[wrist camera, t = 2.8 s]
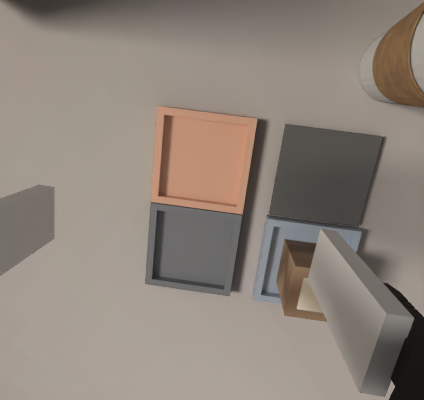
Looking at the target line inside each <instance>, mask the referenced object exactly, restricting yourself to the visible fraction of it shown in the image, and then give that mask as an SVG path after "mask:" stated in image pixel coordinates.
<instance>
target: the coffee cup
mask: <svg viewBox="0 0 424 400" xmlns="http://www.w3.org/2000/svg"><path fill="white" fill-rule="evenodd" d="M359 80H360V83H361V86H362V88H363V89H364V91H365V92H366V93H367V94H368V95H369V96H370V97H372V98H373V99H375V100H377V101H380V102H386V103H397V104H404V105H410V106H417V107H424V2H423V3H422V4H421V5H420V6H418V7H417V8H416V9H414V10H413V11H412V12H411V13H409V14H408V15H407V16H406V17H404V18H403V19H402V20H400V21H399V22H398V23H397V24H395V25H394V26H393V27H392V28H391V29H390V30H388V31H387V32H385V33H384V34H383V35H381V36H380V37H378V38H377V39H376V40H374V41H373V42H372V43H371V44H370V45H369V47H368V48H367V49H366V51H365V52H364V54H363V56H362V58H361V62H360V65H359Z"/></svg>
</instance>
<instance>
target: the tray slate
mask: <svg viewBox="0 0 424 400" xmlns="http://www.w3.org/2000/svg"><path fill="white" fill-rule="evenodd" d="M320 228H321V229H327V230H334V231H337V232H338V233H339V234H340V236H341V237H342V238H343V239H344V240H345V241H346V242H347V243H348V245H349V246H350V247H351V248H352V249H353V250H354V251H355V252H357V249H358V245H359V241H360V238H361V234H362V231H361V230H360V229H359V228H357V227H350V226H343V225H335V224H328V223H321V222H313V221H306V220H299V219H291V218H284V217H277V216H269V215H267V217H266V223H265V228H264V234H263V239H262V245H261V250H260V256H259V261H258V267H257V273H256V278H255V284H254V289H253V300H259V301H266V302H272V303H279V304H282V302H281V298H280V294H279V290H278V286H277V283H276V279H277V274H278V269H279V264H280V259H281V254H282V249H283V244H284V239H289V240H296V241H303V242H310V243H317V240H318V236H319V232H320Z"/></svg>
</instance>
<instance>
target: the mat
mask: <svg viewBox="0 0 424 400" xmlns="http://www.w3.org/2000/svg"><path fill="white" fill-rule="evenodd" d="M382 138H383V137H381V136H373V135H366V134H358V133H350V132H342V131H334V130H326V129H318V128H310V127H302V126H294V125H287V124H285V129H284V135H283V140H282V146H281V151H280V156H279V162H278V167H277V173H276V178H275V184H274V189H273V195H272V200H271V206H270V211H269V213H270V215H277V216H284V217H292V218H299V219H306V220H314V221H321V222H328V223H336V224H343V225H350V226H358V227H359V223H360V219H361V216H362V212H363V208H364V205H365V201H366V197H367V194H368V190H369V186H370V182H371V179H372V175H373V171H374V168H375V164H376V160H377V157H378V153H379V149H380V145H381V142H382Z"/></svg>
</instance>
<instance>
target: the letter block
mask: <svg viewBox="0 0 424 400" xmlns="http://www.w3.org/2000/svg"><path fill="white" fill-rule="evenodd" d="M316 244H317V243H310V242H303V241H296V240H289V239H284V244H283V249H282V254H281V259H280V264H279V269H278V274H277V279H276V283H277V286H278V290H279V294H280V298H281V302H282V306H283V310H284V314H285V316H291V317H298V318H305V319H312V320H319V321H325V322H327V320H326V318H325V316H324V314H323V312H322V309H321V307H320V305H319V303H318V301H317V299H316V296H315V294H314V292H313V290H312V288H311V285H310V283H309V281H308V276H309V272H310V268H311V264H312V260H313V256H314V252H315V248H316Z"/></svg>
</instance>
